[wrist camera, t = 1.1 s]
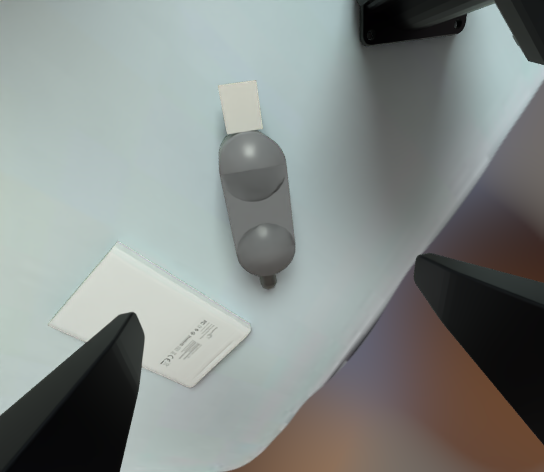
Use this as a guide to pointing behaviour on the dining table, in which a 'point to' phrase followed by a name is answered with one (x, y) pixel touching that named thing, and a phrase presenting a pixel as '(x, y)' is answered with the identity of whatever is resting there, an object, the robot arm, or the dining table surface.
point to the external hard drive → (154, 315)
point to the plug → (255, 186)
